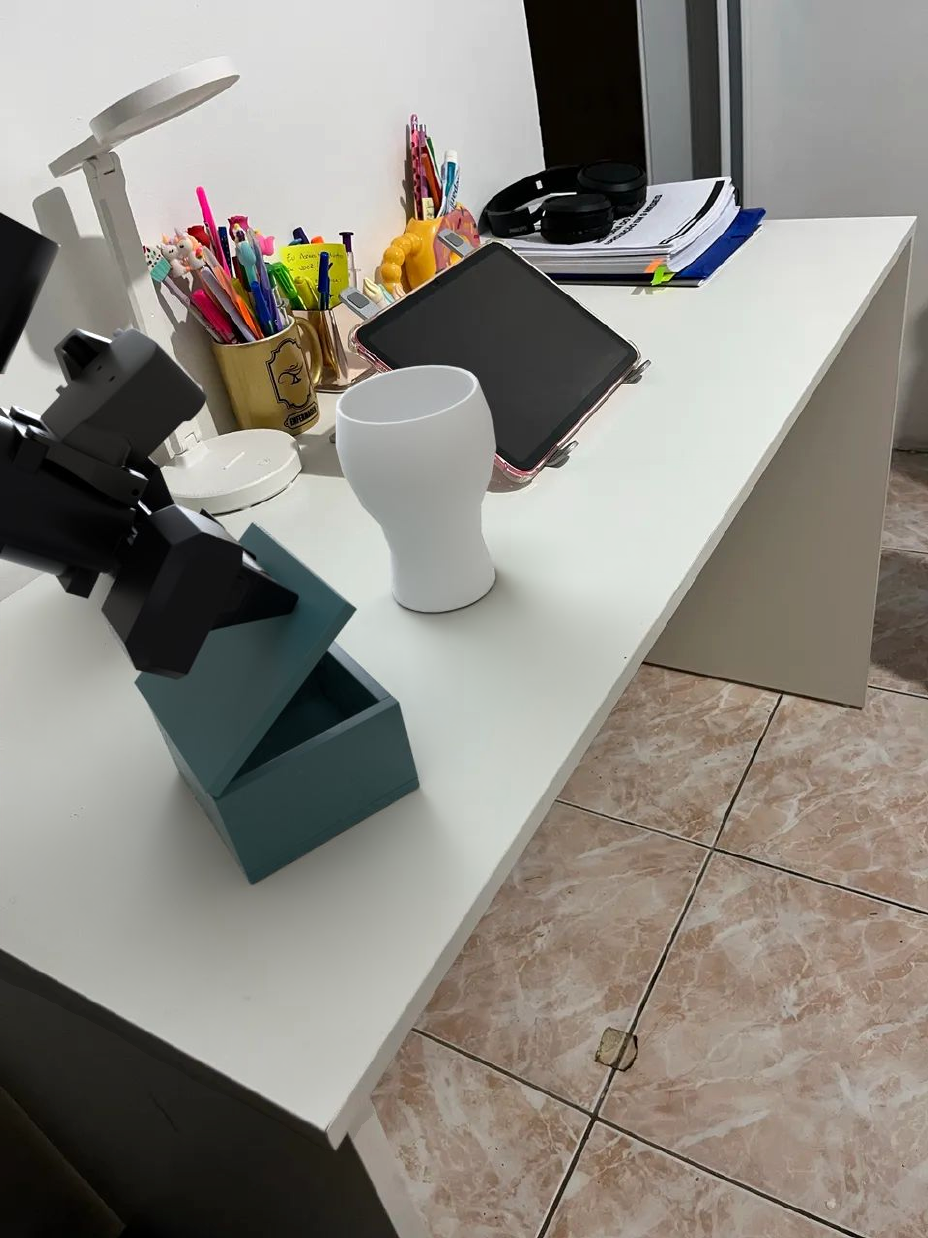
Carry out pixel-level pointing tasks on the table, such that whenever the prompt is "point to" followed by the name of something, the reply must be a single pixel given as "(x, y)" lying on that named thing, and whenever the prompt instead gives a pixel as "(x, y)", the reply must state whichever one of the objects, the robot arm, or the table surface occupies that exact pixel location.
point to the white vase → (423, 478)
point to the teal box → (311, 769)
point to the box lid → (247, 669)
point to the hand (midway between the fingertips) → (272, 583)
